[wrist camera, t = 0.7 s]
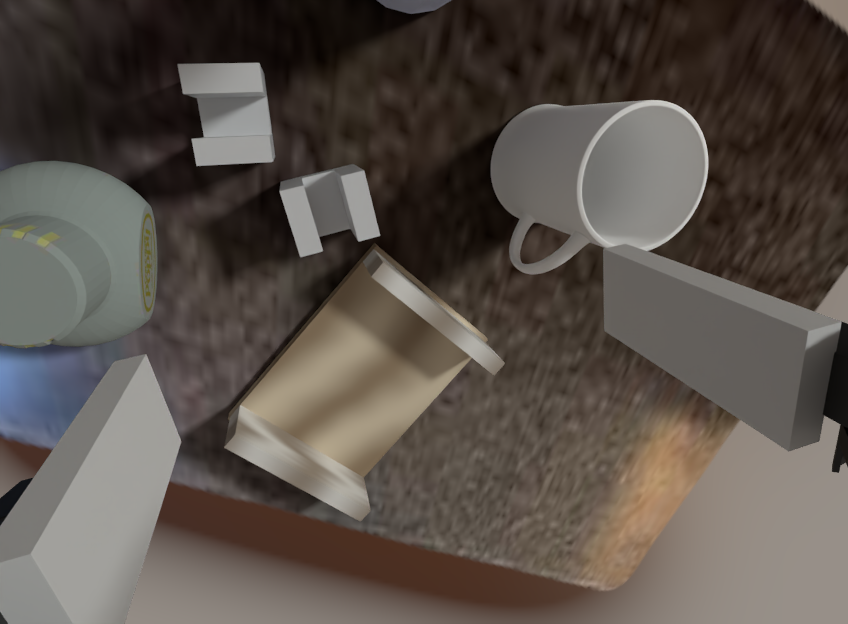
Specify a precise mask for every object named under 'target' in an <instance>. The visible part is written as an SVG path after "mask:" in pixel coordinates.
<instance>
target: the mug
mask: <svg viewBox="0 0 848 624" xmlns="http://www.w3.org/2000/svg"><path fill="white" fill-rule="evenodd" d="M490 170H491V181H492V185H493V189H494V192H495V194H496V196H497V198H498V200H499V201H500V203H501V204H502V206H503V207H504V208H505V209H506V210H507V211H508V212H509V213H511V214H512V215H513V216H515V217H517V218H519V221H518V223H517V225H516V227H515V230H514V232H513V235H512V238H511V241H510V247H509V255H510V259H511V262H512V263H513V265H514V266H515V267H516V268H517V269H518V270H520V271H521V272H524V273H527V274H540V273H544V272H547V271H550V270H552V269H554V268H556V267H558V266H560V265H561V264H563V263H564V262H566V261H567V260H569V259H570V258H571V257H572V256H574V255H575V254H576V253H577V252H578V251H579V250H580V249H582V248H583V247H584V246H585V245H586V244H588V243H590V242H591V243H593V244H596V245H599V246H601V247H604V248H609V247H613V246H617V245H622V244H628V245H631V246H634V247H637V248H639V249H642V250H645V251H648V250H651V249H654V248H656V247H658V246H660V245H662V244H663V243H665V242H667V241H668V240H669V239H671V238H672V237H673V236H674V235H676V234H677V233H678V232H679V231H680V230H681V229H682V228H683V227H684V225H685V224H686V223H687V222H688V220H689V219H690V218H691V216H692V215H693V213H694V211H695V210H696V208H697V206H698V204H699V202H700V199H701V197H702V194H703V191H704V188H705V184H706V180H707V173H708V152H707V146H706V142H705V139H704V136H703V133H702V131H701V129H700V127H699V125H698V124H697V122H696V121H695V120H694V118H693V117H692V116H691V115H690V114H689V113H688V112H686V111H685V110H684V109H682V108H681V107H679V106H677V105H675V104H673V103H670V102H666V101H660V100H645V101H632V102H618V103H605V104H592V105H578V106H565V107H564V106H560V105H555V104H543V105H537V106H534V107H531V108H529V109H526V110H524V111H523V112H521V113H520V114H518V115H517V116H515V117H514V118H513V119H512V120H511V121H510V122H509V123H508V124H507V125H506V127H505V128H504V129H503V131H502V132H501V134H500V136H499V137H498V139H497V141H496V144H495V147H494V150H493V153H492V158H491V169H490ZM533 223H541V224H543V225H546V226H549V227H551V228H554V229H557V230H559V231H562V232H564V233H567V234H570V235H571V236H570V238H569V239H568V240H567V242H566V243H565V244H564V245H563V246H562V247H560V248H559V249H558V250H557V251H556V252H554V253H553V254H552V255H550V256H549V257H547V258H545V259H543V260H541V261H539V262H537V263H533V264H523V263H522V262H521V259H520V249H521V245H522V242H523V239H524V237H525V235H526V233H527V231H528V229H529V228H530V226H531V225H532V224H533Z"/></svg>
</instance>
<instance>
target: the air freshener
mask: <svg viewBox="0 0 848 624" xmlns="http://www.w3.org/2000/svg"><path fill="white" fill-rule="evenodd" d="M156 284H157V240H156V229H155V221H154V216H153V212H152V208H151V206H150V205H149V204H148V203H147V202H146V201H145V200H144V199H143V198H142V197H141V196H140V195H139V194H138V193H137V192H135V191H134V190H133V189H132V188H130V187H129V186H128V185H127V184H125V183H123V182H122V181H120V180H118V179H116V178H115V177H113V176H111V175H109V174H107V173H104V172H102V171H100V170H97V169H95V168H92V167H88V166H84V165H80V164H77V163H70V162H61V161H36V162H30V163H25V164H20V165H16V166H13V167H11V168H8V169H5V170H3V171H0V345H1V346H6V345H7V346H13V347H15V348H28V347H35V346H37V347H41V346H45V345H49V344H54V345H60V346H79V347H80V346H90V345H98V344H102V343H106V342H110V341H114V340H116V339H118V338H121V337H123V336H126V335H128V334H130V333H131V332H133V331H135V330H136V329H138V328H139V327H141V326H142V325H143V324H144V323H146V322H147V321H148V320H149V319H150V318H151V316H152V313H153V309H154V303H155V295H156Z"/></svg>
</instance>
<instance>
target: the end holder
mask: <svg viewBox="0 0 848 624" xmlns="http://www.w3.org/2000/svg"><path fill="white" fill-rule="evenodd" d="M487 340H488V339H487V338H486V337H485V336H484V335H483V334H482V333H481V332H480V331H479V330H477V329H476V328H475V327H474V326H473V325H471V324H470V323H469V322H468V321H467V320H466V319H464V318H463V317H462V316H461V315H460V314H458V313H457V312H456V311H455V310H454V309H452V308H451V307H450V306H449V305H448V304H446V303H445V302H444V301H443V300H442V299H441V298H439V297H438V296H437V295H436V294H435V293H433V292H432V291H431V290H430V289H429V288H427V287H426V286H425V285H424V284H423V283H421V282H420V281H419V280H418V279H417V278H416V277H414V276H413V275H412V274H411V273H410V272H408V271H407V270H406V269H405V268H404V267H402V266H401V265H400V264H399V263H398V262H397V261H395V260H394V259H393V258H392V257H391V256H389V255H388V254H387V253H386V252H385V251H383V250H382V249H381V248H380V247H379V246H377V245H376V244H375V243H374V244H373V245H372V246H371V247H370V248H369V250H368V251H367V252H366V253H365V254H364V255H363V257H362V258H361V259H360V260H359V261H358V262H357V264H356V265H355V266H354V267H353V268H352V269H351V271H350V272H349V273H348V274H347V275H346V276H345V278H344V279H343V280H342V281H341V282H340V284H339V285H338V286H337V287H336V288H335V289H334V291H333V292H332V293H331V294H330V295H329V296H328V298H327V299H326V300H325V301H324V302H323V303H322V305H321V306H320V307H319V308H318V309H317V310H316V312H315V313H314V314H313V315H312V316H311V317H310V319H309V320H308V321H307V322H306V323H305V324H304V326H303V327H302V328H301V329H300V330H299V331H298V333H297V334H296V335H295V336H294V337H293V339H292V340H291V341H290V342H289V343H288V344H287V346H286V347H285V348H284V349H283V350H282V351H281V353H280V354H279V355H278V356H277V357H276V358H275V360H274V361H273V362H272V363H271V364H270V365H269V367H268V368H267V369H266V370H265V371H264V372H263V374H262V375H261V376H260V377H259V378H258V379H257V381H256V382H255V383H254V384H253V385H252V386H251V388H250V389H249V390H248V391H247V392H246V394H245V395H244V396H243V397H242V398H241V399H240V401H239V402H238V403H237V404H236V405H235V406H234V408H233V409H232V410H231V411H230V412H229V416H228V420H229V425H228V430H227V435H226V440H225V445H224V448H226V449H228V450H229V451H231V452H233V453H235V454H237V455H239V456H241V457H242V458H244V459H246V460H248V461H250V462H252V463H253V464H255V465H257V466H259V467H261V468H263V469H264V470H266V471H268V472H270V473H272V474H274V475H276V476H277V477H279V478H281V479H283V480H285V481H287V482H288V483H290V484H292V485H294V486H296V487H298V488H300V489H301V490H303V491H305V492H307V493H309V494H311V495H312V496H314V497H316V498H318V499H320V500H322V501H324V502H325V503H327V504H329V505H331V506H333V507H335V508H336V509H338V510H340V511H342V512H344V513H346V514H347V515H349V516H351V517H353V518H355V519H357V520H359V521H360V522H361V520H362V519H363V518H364V517H365V516H366V515H367V514H368V513H369V512H370V511H371V510H370V505H369V500H368V496H367V491H366V486H365V482H364V476H365V475H366V474H367V473H368V472H369V471H370V470H371V469H372V468H373V467H374V465H375V464H376V463H377V462H378V461H379V460H380V459H381V458H382V457H383V455H384V454H385V453H386V452H387V451H388V450H389V449H390V448H391V447H392V446H393V444H394V443H395V442H396V441H397V440H398V439H399V438H400V437H401V436H402V434H403V433H404V432H405V431H406V430H407V429H408V428H409V427H410V426H411V424H412V423H413V422H414V421H415V420H416V419H417V418H418V417H419V416H420V415H421V413H422V412H423V411H424V410H425V409H426V408H427V407H428V406H429V405H430V403H431V402H432V401H433V400H434V399H435V398H436V397H437V396H438V395H439V394H440V392H441V391H442V390H443V389H444V388H445V387H446V386H447V385H448V384H449V382H450V381H451V380H452V379H453V378H454V377H455V376H456V375H457V374H458V373H459V371H460V370H461V369H462V368H463V367H464V366H465V365H466V364H467V363H468V361H469V360H470V359H471V358H473V359H474V360H476V361H477V362H478V363H479V364H481V365H482V366H483V367H484V368H486V369H487V370H488V371H489V372H490V373H492V374H493V375H495V374H496V373H497V372H498V371H499V369H500V368H501V367H502V366H503V365H504V364H505V363H504V362H503V361H502V359H501V358H500V357H499V356H498V355H497V354H496V353H495V352H494V351H493V350H492V349H491V347H490V346H489V345H488V344H487V343H486V342H487Z"/></svg>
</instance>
